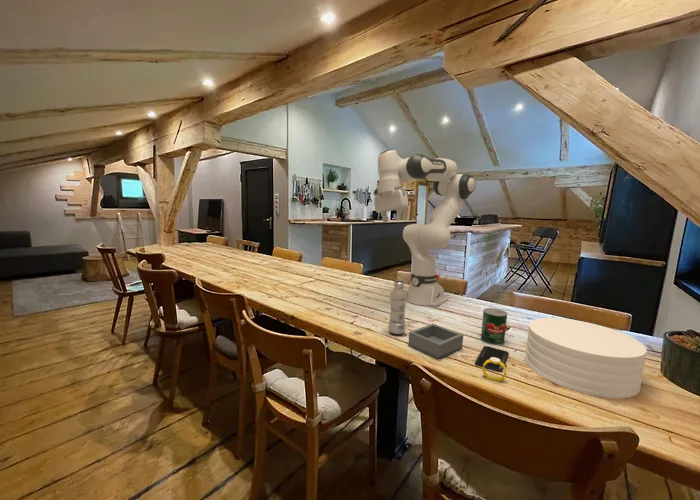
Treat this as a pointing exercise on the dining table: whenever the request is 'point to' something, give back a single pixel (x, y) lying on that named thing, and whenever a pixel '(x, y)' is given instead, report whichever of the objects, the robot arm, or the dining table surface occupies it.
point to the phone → (487, 354)
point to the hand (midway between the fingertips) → (391, 221)
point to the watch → (495, 361)
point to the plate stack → (585, 357)
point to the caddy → (435, 341)
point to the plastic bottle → (397, 308)
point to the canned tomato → (493, 326)
